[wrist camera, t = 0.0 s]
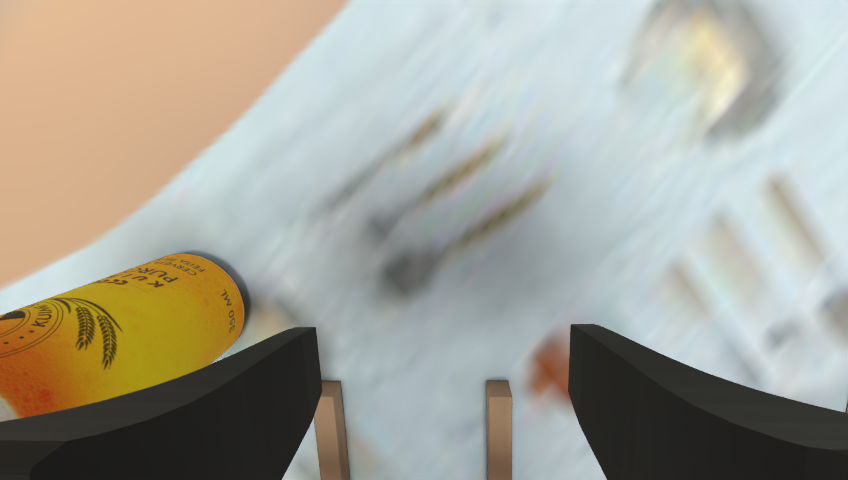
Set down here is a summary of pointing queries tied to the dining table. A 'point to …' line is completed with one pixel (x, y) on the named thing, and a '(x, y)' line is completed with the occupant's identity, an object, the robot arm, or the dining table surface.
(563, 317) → the dining table surface
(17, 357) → the beer can
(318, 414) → the brown open frame
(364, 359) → the dining table surface
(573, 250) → the dining table surface
